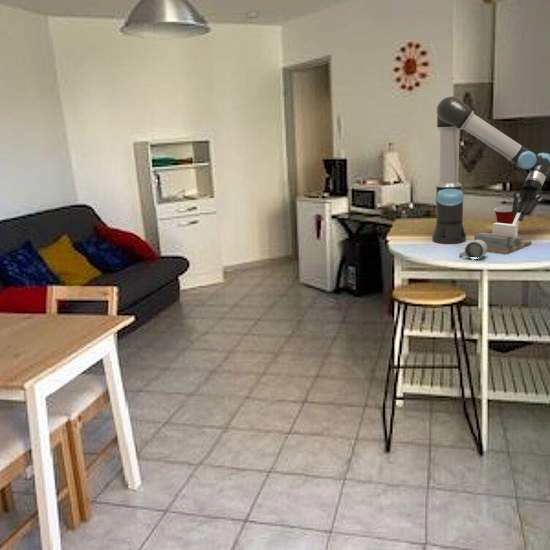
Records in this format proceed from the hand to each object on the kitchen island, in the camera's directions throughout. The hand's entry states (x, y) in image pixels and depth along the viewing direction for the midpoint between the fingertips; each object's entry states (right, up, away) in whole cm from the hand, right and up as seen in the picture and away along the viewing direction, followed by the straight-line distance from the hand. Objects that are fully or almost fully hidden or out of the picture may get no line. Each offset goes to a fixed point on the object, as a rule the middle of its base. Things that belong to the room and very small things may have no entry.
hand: (514, 226), depth 252 cm
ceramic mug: (-25, -15, -17) cm, 34 cm away
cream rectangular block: (-5, -7, -2) cm, 9 cm away
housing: (-7, -9, -3) cm, 12 cm away
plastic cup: (+5, -1, +24) cm, 24 cm away
